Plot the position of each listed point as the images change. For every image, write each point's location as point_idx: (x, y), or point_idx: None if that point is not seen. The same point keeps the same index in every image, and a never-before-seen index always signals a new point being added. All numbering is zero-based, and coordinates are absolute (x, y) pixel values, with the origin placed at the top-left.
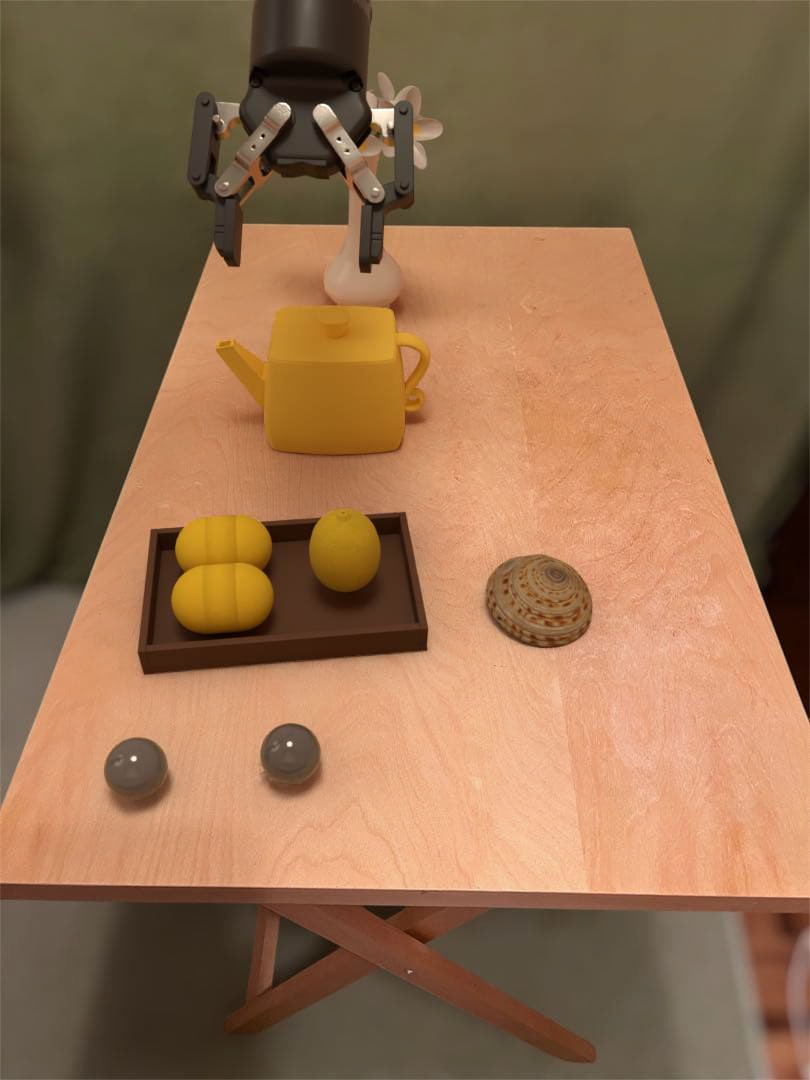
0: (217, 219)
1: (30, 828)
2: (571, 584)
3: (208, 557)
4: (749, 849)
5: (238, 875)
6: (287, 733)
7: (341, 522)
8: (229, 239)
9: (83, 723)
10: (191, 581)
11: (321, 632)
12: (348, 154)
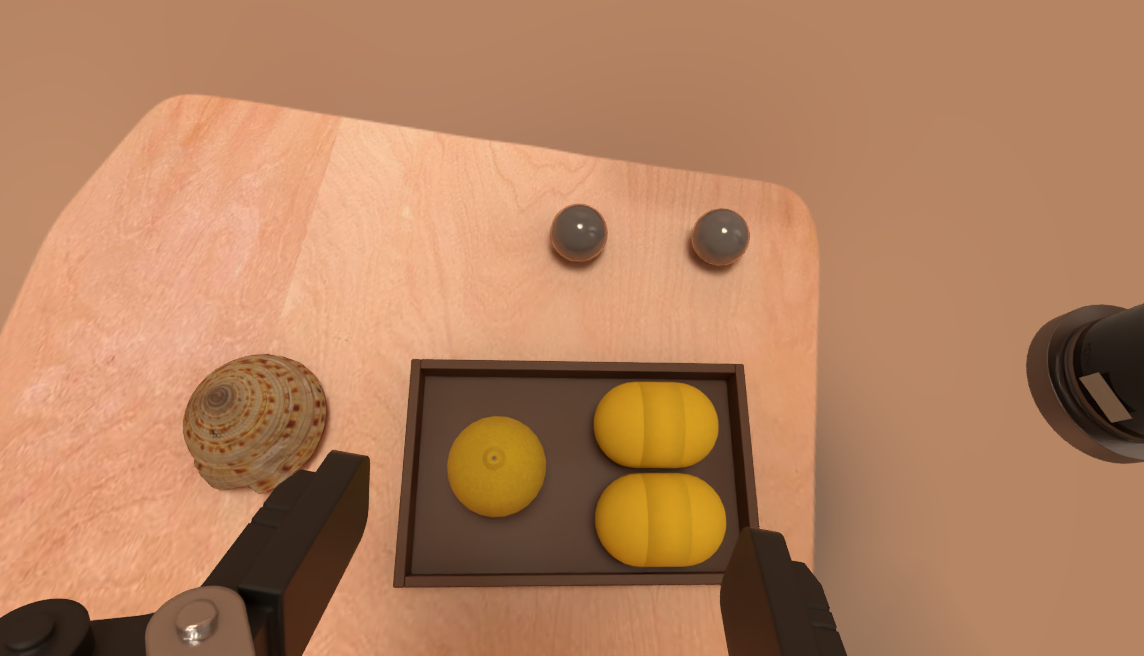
0: (835, 649)
1: (797, 224)
2: (206, 388)
3: (680, 477)
4: (188, 124)
5: (622, 163)
6: (582, 221)
7: (499, 446)
8: (772, 559)
9: (779, 321)
10: (697, 411)
11: (538, 367)
12: None
